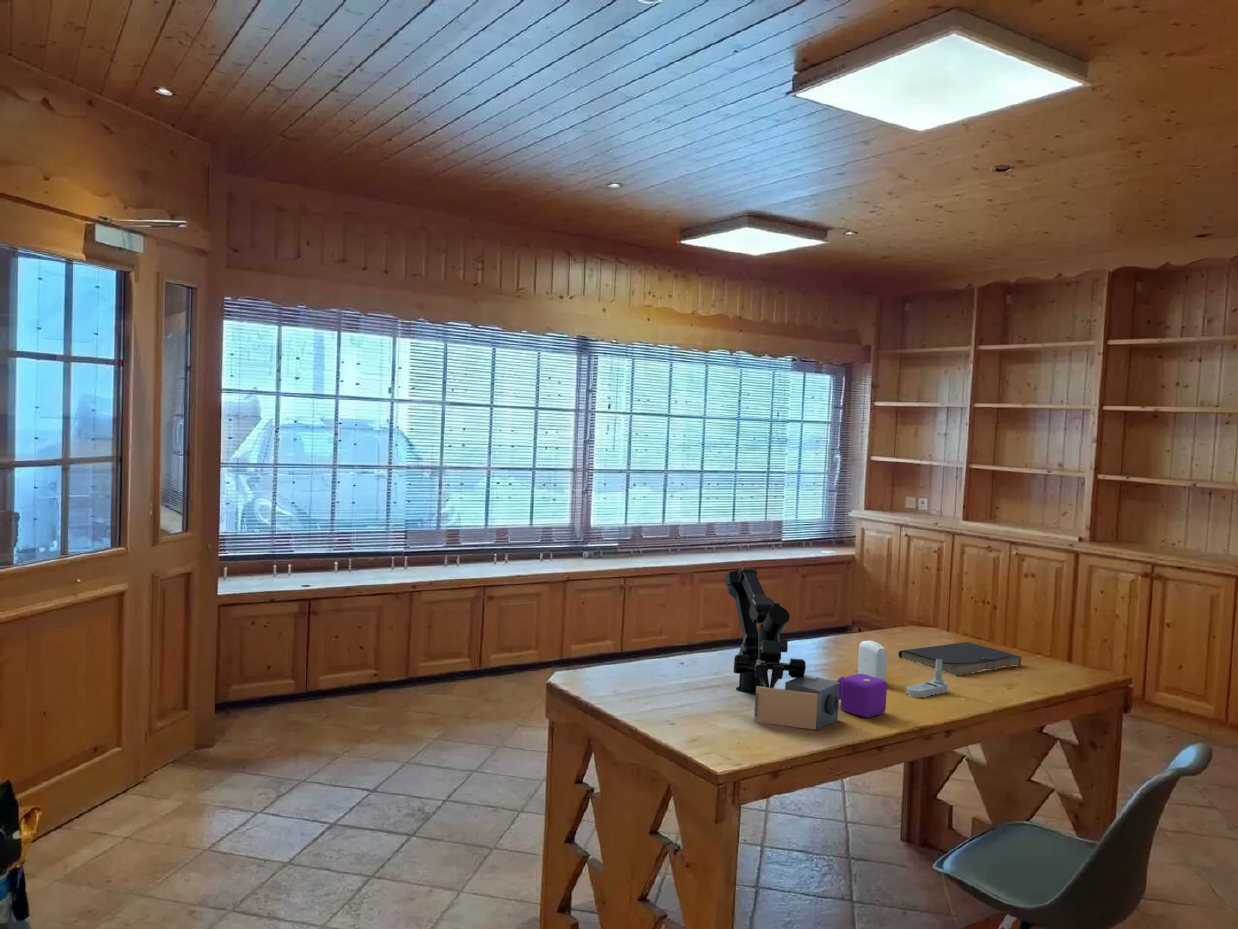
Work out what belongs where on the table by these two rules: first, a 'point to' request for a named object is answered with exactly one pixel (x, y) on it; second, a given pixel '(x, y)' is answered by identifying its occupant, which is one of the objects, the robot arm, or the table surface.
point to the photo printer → (872, 659)
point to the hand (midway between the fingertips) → (769, 695)
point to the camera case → (819, 687)
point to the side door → (788, 707)
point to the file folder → (961, 657)
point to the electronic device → (929, 684)
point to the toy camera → (863, 695)
